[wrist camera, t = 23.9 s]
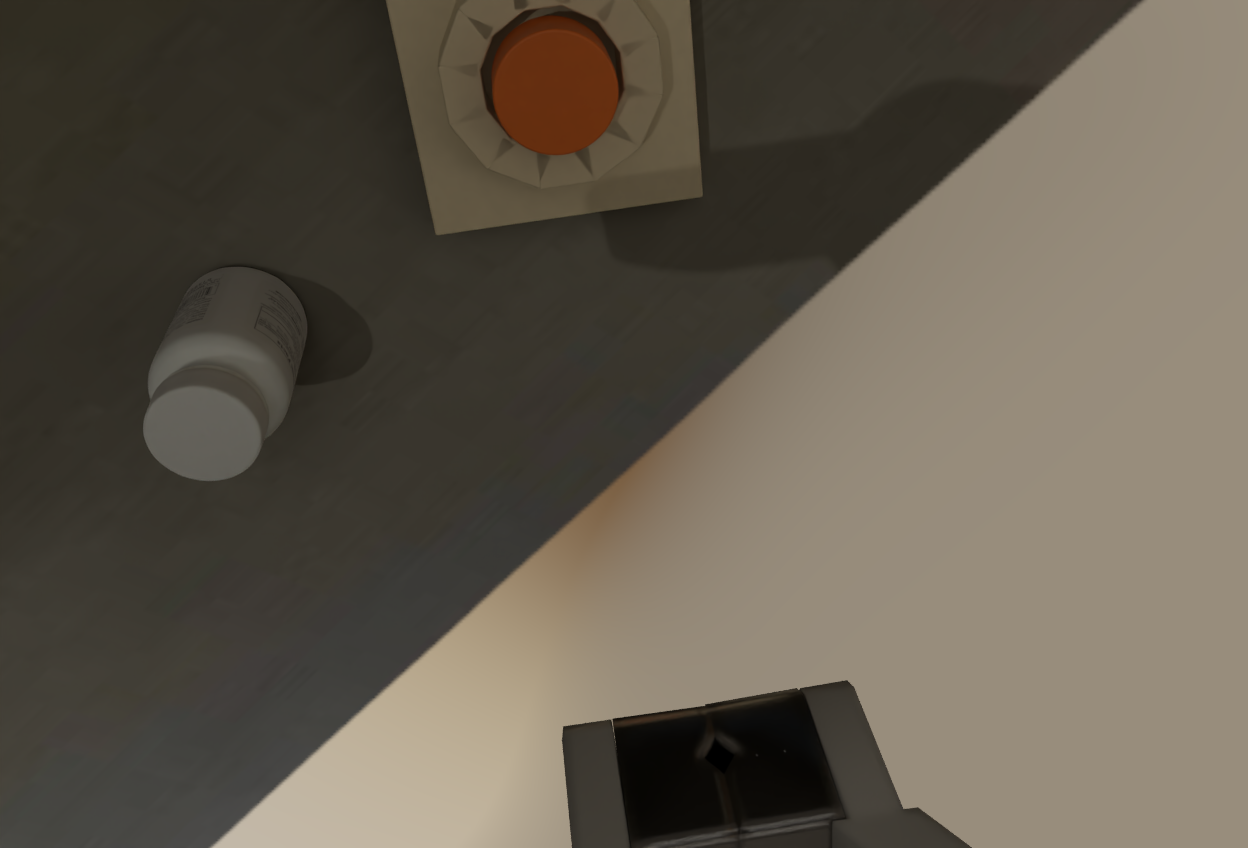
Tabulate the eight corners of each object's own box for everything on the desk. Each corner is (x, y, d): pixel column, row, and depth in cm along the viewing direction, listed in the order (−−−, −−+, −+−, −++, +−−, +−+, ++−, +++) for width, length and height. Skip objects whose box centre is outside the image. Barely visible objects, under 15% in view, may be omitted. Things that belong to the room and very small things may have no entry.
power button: (618, 128, 34) (625, 147, 32) (502, 144, 34) (503, 164, 32) (604, 6, 32) (612, 20, 30) (481, 23, 32) (482, 38, 30)
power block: (692, 174, 39) (713, 218, 35) (437, 211, 38) (434, 258, 35) (669, -142, 33) (691, -127, 30) (371, -103, 33) (360, -83, 29)
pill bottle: (178, 362, 40) (123, 485, 34) (184, 252, 38) (126, 362, 31) (302, 380, 41) (272, 504, 35) (315, 275, 39) (285, 386, 32)
